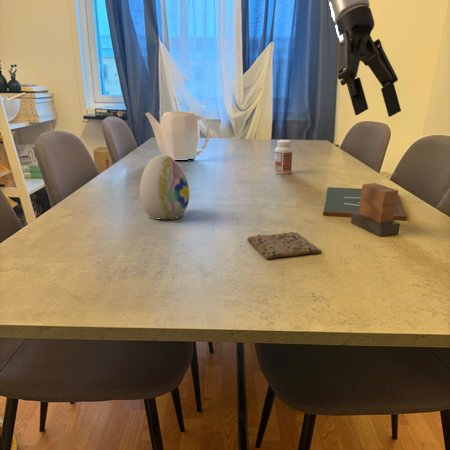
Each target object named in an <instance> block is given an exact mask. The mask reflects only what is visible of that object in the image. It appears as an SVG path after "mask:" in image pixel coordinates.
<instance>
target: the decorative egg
mask: <svg viewBox="0 0 450 450" xmlns="http://www.w3.org/2000/svg"><path fill="white" fill-rule="evenodd" d="M139 197H140V202H141V204H142V207H143V210H144V211H145V213H146V214H147V215H148V216H149V217H150V216H151V217H150V218H152V217H154V218H160V219H171V218H176V217H179V218H181V217H182V216H184V214H185V212H186V210H187V208H188V205H189V202H190V187H189V182H188V178H187V176H186V174H185V172H184V170H183V168H182V167H181V165H180V164H179V163H178V161H175V160H174V159H173V158H171V157H170V156H167V154H158V155H155V156H154V157H152V158H151V159H150V160H149V161H148V163H147V165H146V166H145V167H144V170H143V172H142V174H141V178H140V183H139ZM180 216H181V217H180ZM154 218H153V219H154ZM176 219H177V218H176ZM171 220H172V219H171Z"/></svg>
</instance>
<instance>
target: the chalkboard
mask: <svg viewBox="0 0 450 450" xmlns="http://www.w3.org/2000/svg"><path fill="white" fill-rule="evenodd" d="M361 193H362V188H353V187H334V186H333V187H331V186H330V187H329V186H327V187H326V193H325V199H324V203H323V210H322V216H327V217H343V218H351V217H352V213H355V212H359V207H360V200H361ZM393 221H407V215H406V212H405V210H404V207H403V205H402V203H401V201H400V198H399V195H398V196H397V202H396V208H395V213H394V219H393Z"/></svg>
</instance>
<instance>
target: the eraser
mask: <svg viewBox="0 0 450 450" xmlns="http://www.w3.org/2000/svg"><path fill="white" fill-rule="evenodd" d="M361 189H362V193H361V200H360V207H359V212H355V213H352V217H350V218H351V219H350V223H351V224H352V225H354V226H355V227H358V228H360V229H363V230H365V231H367V232H369V233H371V234H373V235H375V236H376V237H377V236H378V237H379V238H382V237H387V236H396V235H399V232H400V227H401V223H400V222H399V221H398V222H397V221H396V220H393V219H394V213H395V208H396V202H397V196H398V197H399V190H398V189H395V188H392V187H388V186H386V185H383V184H379V183H377V182H372V183H362V187H361Z"/></svg>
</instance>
